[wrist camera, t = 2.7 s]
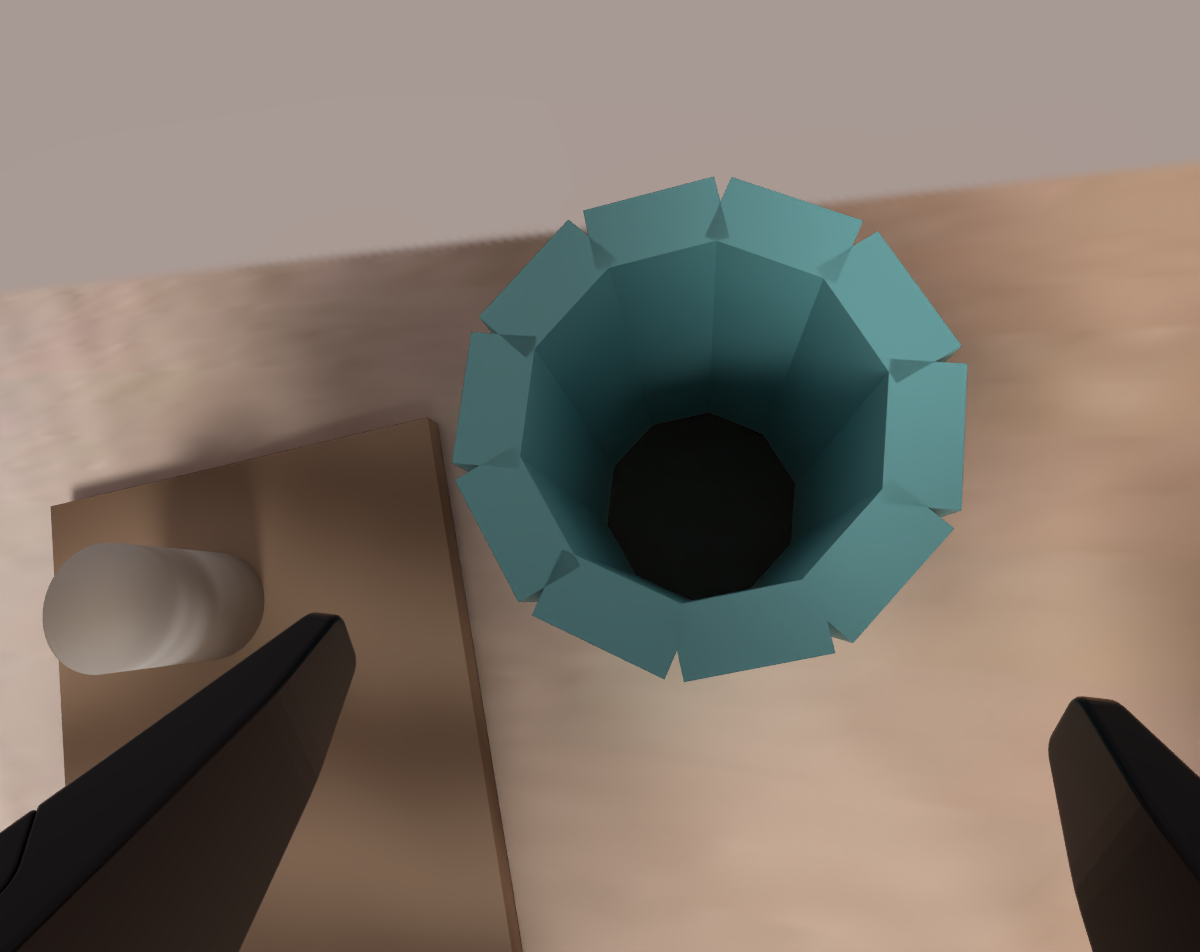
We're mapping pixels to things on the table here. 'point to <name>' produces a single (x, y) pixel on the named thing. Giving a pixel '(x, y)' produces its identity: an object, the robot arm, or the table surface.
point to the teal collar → (724, 388)
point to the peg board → (375, 698)
